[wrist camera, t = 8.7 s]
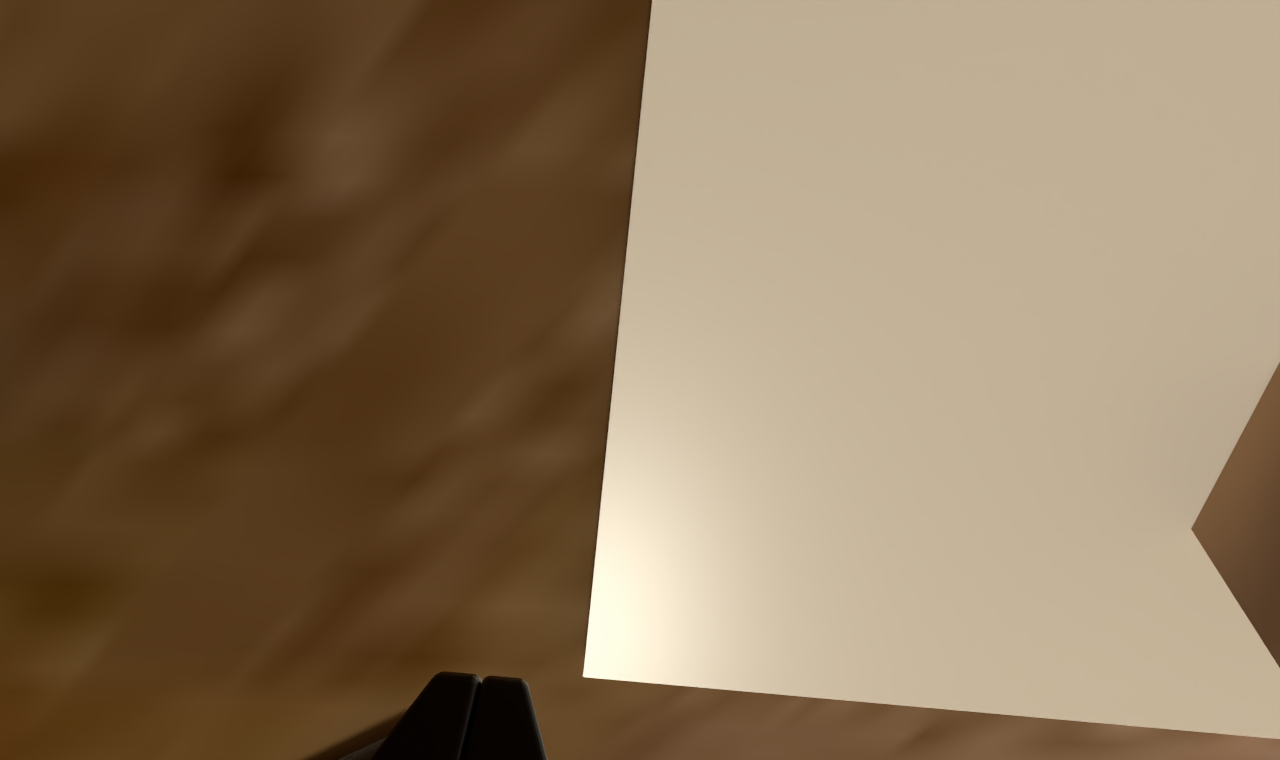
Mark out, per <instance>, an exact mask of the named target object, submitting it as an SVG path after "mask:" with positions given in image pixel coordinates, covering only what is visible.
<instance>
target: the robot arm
mask: <svg viewBox="0 0 1280 760" xmlns="http://www.w3.org/2000/svg"><path fill="white" fill-rule="evenodd" d="M369 760H548V759H547V755H546V751H545V747H544V743H543V739H542V736H541V732H540V728H539V724H538V720H537V716H536V712H535V709H534V705H533V701H532V697H531V693H530V689H529V686H528V684H527V682H526V681H525V680H523V679H521V678H512V677H501V676H488V677H486V678H484V680H483V681H481V678H480V677H479V676H478V675H475V674H467V673H456V672H440V673H438V674H436V675H435V676H434V677H433V678H432V679H431V680H430V682H429V683H428V684H427V685H426V687H425V688H424V689H423V691H422V692H421V693H420V694H419V696H418V697H417V698H416V700H415V701H414V702H413V704H412V705H411V706H410V707H409V709H408V710H407V711H406V713H405V714H404V715H403V716H402V718H401V719H400V720H399V722H398V723H397V724H396V725H395V727H394V728H393V729H392V731H391V732H390V733H389V734H388V736H387V737H386V738H385V740H384V741H383V742H382V743H381V745H380V746H379V747H378V749H377V750H376V751H375V753H374V754H373V755H372V756H371V758H370V759H369Z"/></svg>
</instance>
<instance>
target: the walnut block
mask: <svg viewBox="0 0 1280 760" xmlns="http://www.w3.org/2000/svg"><path fill="white" fill-rule="evenodd" d="M1191 530H1192V531H1193V533H1194V535H1195V536H1196V538H1197V539H1198V541H1199V542H1200V544H1201V546H1202V547H1203V549H1204V550H1205V552H1206V553H1207V555H1208V557H1209V558H1210V560H1211V561H1212V563H1213V564H1214V566H1215V568H1216V569H1217V571H1218V572H1219V574H1220V575H1221V577H1222V578H1223V580H1224V582H1225V583H1226V585H1227V586H1228V588H1229V589H1230V591H1231V593H1232V594H1233V596H1234V597H1235V599H1236V600H1237V602H1238V604H1239V605H1240V607H1241V608H1242V610H1243V611H1244V613H1245V615H1246V616H1247V618H1248V619H1249V621H1250V622H1251V624H1252V626H1253V627H1254V629H1255V630H1256V632H1257V633H1258V635H1259V636H1260V638H1261V640H1262V641H1263V643H1264V644H1265V646H1266V647H1267V649H1268V651H1269V652H1270V654H1271V655H1272V657H1273V658H1274V660H1275V662H1276V663H1277V665H1278V666H1279V668H1280V362H1279V364H1278V366H1277V368H1276V370H1275V372H1274V374H1273V375H1272V377H1271V379H1270V381H1269V383H1268V385H1267V387H1266V389H1265V391H1264V392H1263V394H1262V396H1261V398H1260V400H1259V402H1258V404H1257V406H1256V408H1255V409H1254V411H1253V413H1252V415H1251V417H1250V419H1249V421H1248V423H1247V424H1246V426H1245V428H1244V430H1243V432H1242V434H1241V436H1240V438H1239V440H1238V441H1237V443H1236V445H1235V447H1234V449H1233V451H1232V453H1231V455H1230V457H1229V458H1228V460H1227V462H1226V464H1225V466H1224V468H1223V470H1222V472H1221V474H1220V475H1219V477H1218V479H1217V481H1216V483H1215V485H1214V487H1213V489H1212V490H1211V492H1210V494H1209V496H1208V498H1207V500H1206V502H1205V504H1204V506H1203V507H1202V509H1201V511H1200V513H1199V515H1198V517H1197V519H1196V521H1195V523H1194V524H1193V526H1192V528H1191Z"/></svg>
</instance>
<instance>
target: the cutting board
mask: <svg viewBox="0 0 1280 760" xmlns="http://www.w3.org/2000/svg"><path fill="white" fill-rule="evenodd" d="M1279 362H1280V0H652V6H651V16H650V25H649V35H648V45H647V55H646V65H645V74H644V84H643V94H642V104H641V114H640V123H639V133H638V143H637V153H636V163H635V172H634V182H633V192H632V202H631V212H630V221H629V231H628V241H627V251H626V261H625V270H624V280H623V290H622V300H621V310H620V319H619V329H618V339H617V349H616V358H615V368H614V378H613V388H612V398H611V407H610V417H609V427H608V437H607V447H606V456H605V466H604V476H603V486H602V496H601V505H600V515H599V525H598V535H597V545H596V554H595V564H594V574H593V584H592V594H591V603H590V613H589V623H588V633H587V643H586V652H585V663H584V673H583V677H589V678H601V679H612V680H623V681H634V682H646V683H657V684H668V685H679V686H691V687H702V688H713V689H724V690H735V691H747V692H758V693H769V694H780V695H792V696H803V697H814V698H825V699H837V700H848V701H859V702H870V703H882V704H893V705H904V706H915V707H926V708H938V709H949V710H960V711H971V712H983V713H994V714H1005V715H1016V716H1028V717H1039V718H1050V719H1061V720H1073V721H1084V722H1095V723H1106V724H1117V725H1129V726H1140V727H1151V728H1162V729H1174V730H1185V731H1196V732H1207V733H1219V734H1230V735H1241V736H1252V737H1263V738H1275V739H1280V668H1279V666H1278V665H1277V663H1276V662H1275V660H1274V658H1273V657H1272V655H1271V654H1270V652H1269V651H1268V649H1267V647H1266V646H1265V644H1264V643H1263V641H1262V640H1261V638H1260V636H1259V635H1258V633H1257V632H1256V630H1255V629H1254V627H1253V626H1252V624H1251V622H1250V621H1249V619H1248V618H1247V616H1246V615H1245V613H1244V611H1243V610H1242V608H1241V607H1240V605H1239V604H1238V602H1237V600H1236V599H1235V597H1234V596H1233V594H1232V593H1231V591H1230V589H1229V588H1228V586H1227V585H1226V583H1225V582H1224V580H1223V578H1222V577H1221V575H1220V574H1219V572H1218V571H1217V569H1216V568H1215V566H1214V564H1213V563H1212V561H1211V560H1210V558H1209V557H1208V555H1207V553H1206V552H1205V550H1204V549H1203V547H1202V546H1201V544H1200V542H1199V541H1198V539H1197V538H1196V536H1195V535H1194V533H1193V531H1192V530H1191V528H1192V526H1193V524H1194V523H1195V521H1196V519H1197V517H1198V515H1199V513H1200V511H1201V509H1202V507H1203V506H1204V504H1205V502H1206V500H1207V498H1208V496H1209V494H1210V492H1211V490H1212V489H1213V487H1214V485H1215V483H1216V481H1217V479H1218V477H1219V475H1220V474H1221V472H1222V470H1223V468H1224V466H1225V464H1226V462H1227V460H1228V458H1229V457H1230V455H1231V453H1232V451H1233V449H1234V447H1235V445H1236V443H1237V441H1238V440H1239V438H1240V436H1241V434H1242V432H1243V430H1244V428H1245V426H1246V424H1247V423H1248V421H1249V419H1250V417H1251V415H1252V413H1253V411H1254V409H1255V408H1256V406H1257V404H1258V402H1259V400H1260V398H1261V396H1262V394H1263V392H1264V391H1265V389H1266V387H1267V385H1268V383H1269V381H1270V379H1271V377H1272V375H1273V374H1274V372H1275V370H1276V368H1277V366H1278V364H1279Z"/></svg>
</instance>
